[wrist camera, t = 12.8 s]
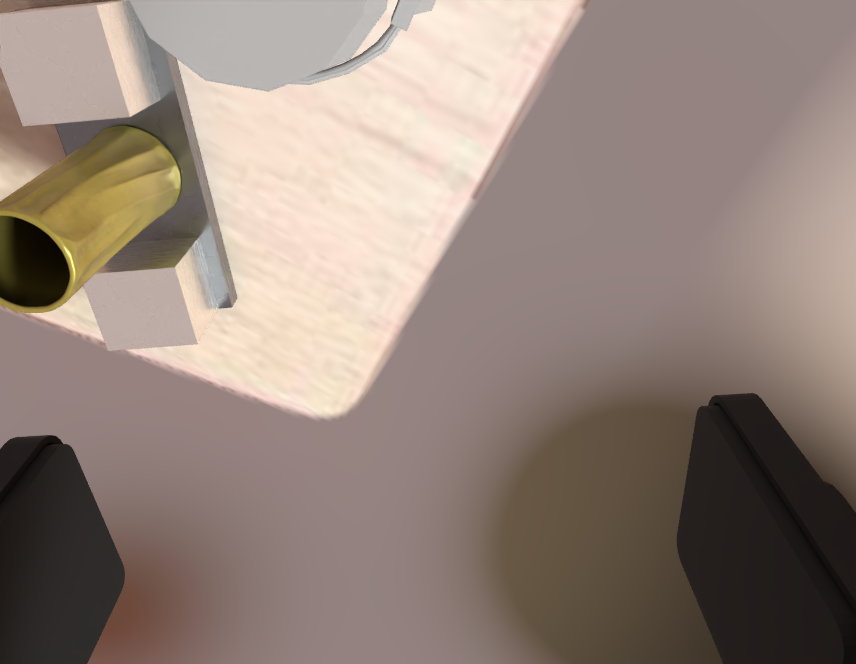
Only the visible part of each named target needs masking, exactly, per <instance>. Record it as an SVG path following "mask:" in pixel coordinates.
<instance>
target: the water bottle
mask: <svg viewBox="0 0 856 664" xmlns="http://www.w3.org/2000/svg"><path fill="white" fill-rule="evenodd" d="M129 1H130V2H131V4H132V6H133V8H134V10H135V12H136V14H137V16H138V17H139V19H140V21H141V23H142V25H143V27H144V29H145V31H146V32H147V34H148V36H149V37H150V38H151V39H152V40H153V41H155V42H156V43H157V44H159V45H160V46H161V47H163V48H164V49H165V50H166V51H168V52H169V53H170V54H172V55H173V56H174V57H176V58H177V59H178V60H180V61H181V62H182V63H183V64H185V65H186V66H187V67H189V68H190V69H191V70H193V71H194V72H195V73H196V74H198V75H199V76H200V77H202V78H203V79H204V80H206V81H211V82H217V83H223V84H228V85H234V86H240V87H245V88H251V89H257V90H263V91H268V92H269V91H271V90H274V89H277V88H279V87H282V86H285V85H287V84H304V85H310V84H314V83H317V82H321V81H324V80H328V79H331V78H335V77H339V76H342V75H346V74H349V73H350V72H352V71H354V70H356V69H357V68H359V67H361V66H362V65H364V64H366V63H367V62H369V61H371V60H372V59H374V58H376V57H377V56H379V55H381V54H382V53H384V52H386V51H387V49H388V48H389V46H390V45H391V43H392V42H393V40H394V38H395V37H396V35H397V34H398V32H399V31H400V29H403V30H405V31H407V29H408V27H409V25H410V22H411V20H412V17H413V15H415V14H419V13H423V12H427V11H431V10H432V8H433V6H434V4H435V1H436V0H398V2H397V5H396V7H395V10H394V13H393V15H392V19H391V25H390V27H389V28H388V29H387V30H386V32H385V33H384V34H383V35H382V36H381V38H380V39H379V40H378V41H377V42H376V43H375V44H374V45H372V46H371V47H370V48H368V49H367V50H366V51H364V52H363V53H362V54H360V55H358V56H356V57H355V58H353V59H351V58H352V56H353V55H354V53H355V52H356V51H357V49H358V48H359V46H360V45H361V44H362V42H363V41H364V40H365V38H366V37H367V35H368V34H369V33H370V31H371V30H372V28H373V27H374V26H375V24H376V23H377V21H378V20H379V19H380V17H381V16H382V15H383V13H384V12H385V10H386V7H387V0H129ZM349 59H351V60H349ZM347 60H349V61H347ZM345 61H347V62H345ZM342 62H345V63H343V64H340V63H342ZM337 64H340V65H337ZM335 65H337V66H335ZM332 66H334V67H332ZM330 67H332V68H330ZM327 68H329V69H327ZM325 69H326V70H325Z"/></svg>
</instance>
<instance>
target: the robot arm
mask: <svg viewBox="0 0 856 664" xmlns="http://www.w3.org/2000/svg"><path fill="white" fill-rule="evenodd" d="M677 548H678V554H679V558H680V561H681V564H682V566H683V568H684V571H685V573H686V575H687V578H688V580H689V583H690V585H691V587H692V590H693V592H694V595H695V597H696V599H697V602H698V604H699V607H700V609H701V611H702V614H703V616H704V618H705V621H706V623H707V626H708V628H709V630H710V633H711V635H712V638H713V640H714V642H715V645H716V647H717V650H718V652H719V654H720V657H721V659H722V662H723V664H856V512H855V511H854V510H853V509H852V507H851V506H850V505H849V503H848V502H847V501H846V499H845V498H844V497H843V496H842V494H841V493H840V492H839V491H838V490H837V489H836V488H835V487H834V486H833V485H831V484H829V483H827V482H825V481H823V480H822V479H821V478H820V477H819V475H818V474H817V472H816V471H815V470H814V468H813V467H812V466H811V464H810V463H809V462H808V461H807V459H806V458H805V456H804V455H803V454H802V453H801V451H800V450H799V448H798V447H797V446H796V444H795V443H794V442H793V441H792V439H791V438H790V436H789V435H788V434H787V433H786V431H785V430H784V428H783V427H782V426H781V424H780V423H779V422H778V420H777V419H776V418H775V416H774V415H773V414H772V412H771V411H770V410H769V408H768V407H767V406H766V404H765V403H764V402H763V400H762V399H761V398H760V397H759V396H758V395H757V394H753V393H747V394H731V395H715V396H713V397H712V398H711V400H710V402H709V405H708V406H702V407H700V408H699V409H698V411H697V416H696V421H695V427H694V434H693V440H692V446H691V452H690V458H689V465H688V471H687V477H686V483H685V489H684V495H683V502H682V508H681V514H680V520H679V526H678V533H677ZM124 577H125V571H124V566H123V563H122V561H121V559H120V556H119V554H118V552H117V549H116V547H115V545H114V542H113V540H112V538H111V535H110V533H109V531H108V529H107V526H106V524H105V522H104V519H103V517H102V515H101V512H100V510H99V508H98V506H97V503H96V501H95V499H94V496H93V494H92V492H91V489H90V487H89V485H88V482H87V480H86V478H85V476H84V473H83V471H82V469H81V466H80V464H79V462H78V460H77V457H76V455H75V453H74V451H73V449H72V447H70V446H69V445H67V444H63V443H62V442H61V440H60V439H59V438H58V437H56V436H52V435H45V436H28V437H15V438H12V439H10V440H9V441H7V442H6V443H5V444H4V445H3V447H2V448H1V449H0V664H87V663H88V661H89V659H90V657H91V654H92V652H93V650H94V648H95V646H96V644H97V642H98V640H99V637H100V636H101V633H102V631H103V629H104V627H105V625H106V623H107V620H108V618H109V616H110V614H111V612H112V610H113V608H114V606H115V604H116V601H117V600H118V597H119V595H120V593H121V591H122V588H123V585H124V579H125V578H124Z"/></svg>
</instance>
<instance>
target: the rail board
mask: <svg viewBox="0 0 856 664" xmlns="http://www.w3.org/2000/svg"><path fill="white" fill-rule="evenodd" d="M0 67H1V70H2V73H3V75H4V78H5V81H6V83H7V86H8V89H9V91H10V94H11V96H12V99H13V102H14V104H15V107H16V110H17V112H18V115H19V117H20V120H21V123H22V125H23V126H35V125H46V124H55V125H56V128H57V131H58V134H59V136H60V139H61V142H62V145H63V148H64V151H65V153H66V156H68V155H69V154H71V153H72V152H74V151H76V150H77V149H79V148H81V147H83V146H85V145H86V144H88V143H89V141H90V140H91V139H92V137H93V136H95V135H96V134H97V133H99V132H100V131H102V130H104V129H107V128H110V127H117V126H127V127H133V128H137V129H140V130H142V131H145V132H147V133H149V134H150V135H152V136H154V137H155V138H156V139H158V140H159V141H160V142H161V143H162V144H163V145H164V146H165V147H166V148H167V149H168V151H169V152H170V153H171V155H172V156H173V158H174V159H175V161H176V163H177V166H178V169H179V172H180V178H181V188H180V193H179V196H178V198H177V201H176V203H175V205H174V206H173V207H172V208H171V209H169V210H168V211H167V212H166V213H165V214H163V215H162V216H160V217H158V218H157V219H155V220H154V221H153V222H152V223H150V224H149V225H148V226H147V227H146V228H144V229H143V230H142V231H141V232H140V233H139V234H138V235H136V236H135V237H134V238H133V239H132V240H131V241H129V242H128V243H127V244H126V245H125V246H124V247H123V248H122V249H120V250H119V251H118V252H117V253H116V254H115V255H114V256H113V257H112V258H111V259H110V260H109V261H108V262H107V263H106V264H105V265H104V266H103V267H101V268H100V269H99V270H98V271H97V272H96V273H95V274H94V275H93V276H92V277H91V278H90V279H89V280H88V281H87V282H86V283H85V284H84V285H83V286H84V289H85V291H86V294H87V296H88V299H89V302H90V304H91V307H92V310H93V312H94V315H95V318H96V320H97V323H98V325H99V328H100V331H101V333H102V336H103V339H104V341H105V344H106V346H107V349H108V351H113V350H126V349H140V348H153V347H166V346H180V345H193V344H198V343H199V341H200V340H201V338H202V336H203V334H204V333H205V331H206V329H207V327H208V326H209V324H210V322H211V320H212V319H213V317H214V315H215V314H216V312H217V310H218V308H230V307H233V305H234V303H235V301H236V299H237V295H236V291H235V287H234V283H233V279H232V275H231V271H230V267H229V263H228V259H227V256H226V252H225V248H224V244H223V240H222V236H221V232H220V228H219V224H218V220H217V216H216V212H215V208H214V204H213V200H212V197H211V193H210V189H209V185H208V181H207V177H206V173H205V169H204V165H203V161H202V157H201V153H200V149H199V145H198V141H197V138H196V134H195V130H194V126H193V122H192V118H191V114H190V110H189V106H188V102H187V98H186V94H185V90H184V86H183V82H182V79H181V75H180V71H179V67H178V63H177V59H176V57H174V56H173V55H172V54H170V53H169V52H168V51H166V50H165V49H164V48H163V47H161V46H160V45H159V44H157V43H156V42H155V41H153V40H152V39H151V38H150V37H149V36H148V34H147V32H146V31H145V29H144V27H143V25H142V23H141V21H140V19H139V17H138V16H137V14H136V12H135V10H134V8H133V6H132V4H131V2H130V1H129V0H112V1H102V2H91V3H81V4H70V5H60V6H49V7H39V8H28V9H21V10H15V11H14V12H7V13H0Z"/></svg>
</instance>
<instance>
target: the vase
mask: <svg viewBox="0 0 856 664" xmlns="http://www.w3.org/2000/svg"><path fill="white" fill-rule="evenodd" d="M180 188H181V178H180V172H179V169H178V166H177V163H176V161H175V159H174V158H173V156H172V155H171V153H170V152H169V151H168V149H167V148H166V147H165V146H164V145H163V144H162V143H161V142H160V141H159V140H158V139H156V138H155V137H154V136H152V135H150V134H149V133H147V132H145V131H142V130H140V129H137V128H133V127H127V126H117V127H110V128H107V129H104V130H102V131H100V132H99V133H97V134H96V135H95V136H93V137H92V139H91V140H90V141H89V143H88V144H86V145H85V146H83V147H81V148H79V149H77V150H76V151H74V152H72V153H71V154H69V155H68V156H67V157H65V158H64V159H63V160H61V161H60V162H58V163H57V164H55V165H54V166H52V167H51V168H49V169H48V170H46V171H45V172H43V173H42V174H40V175H39V176H37V177H36V178H34V179H33V180H31V181H30V182H28V183H27V184H26V185H24V186H23V187H21V188H20V189H18V190H17V191H15V192H14V193H12V194H11V195H9V196H8V197H6V198H5V199H3V200H2V201H0V304H1V305H3V306H5V307H7V308H10V309H12V310H16V311H19V312H24V313H43V312H49V311H52V310H55V309H56V308H58V307H60V306H61V305H63V304H64V303H66V302H67V301H68V300H69V299H70V298H71V297H72V296H73V295H74V294H75V293H76V292H77V291H78V290H79V289H80V288H81V287H82V286H83V285H84V284H85V283H86V282H87V281H88V280H89V279H90V278H91V277H92V276H93V275H94V274H95V273H96V272H97V271H98V270H99V269H100V268H101V267H103V266H104V265H105V264H106V263H107V262H108V261H109V260H110V259H111V258H112V257H113V256H114V255H115V254H116V253H117V252H118V251H119V250H120V249H122V248H123V247H124V246H125V245H126V244H127V243H128V242H129V241H131V240H132V239H133V238H134V237H135V236H136V235H138V234H139V233H140V232H141V231H142V230H143V229H144V228H146V227H147V226H148V225H149V224H150V223H152V222H153V221H154V220H155V219H157V218H158V217H160V216H162V215H163V214H165V213H166V212H167V211H168V210H169V209H171V208H172V207H173V206H174V205H175V203H176V201H177V198H178V196H179V193H180Z"/></svg>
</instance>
